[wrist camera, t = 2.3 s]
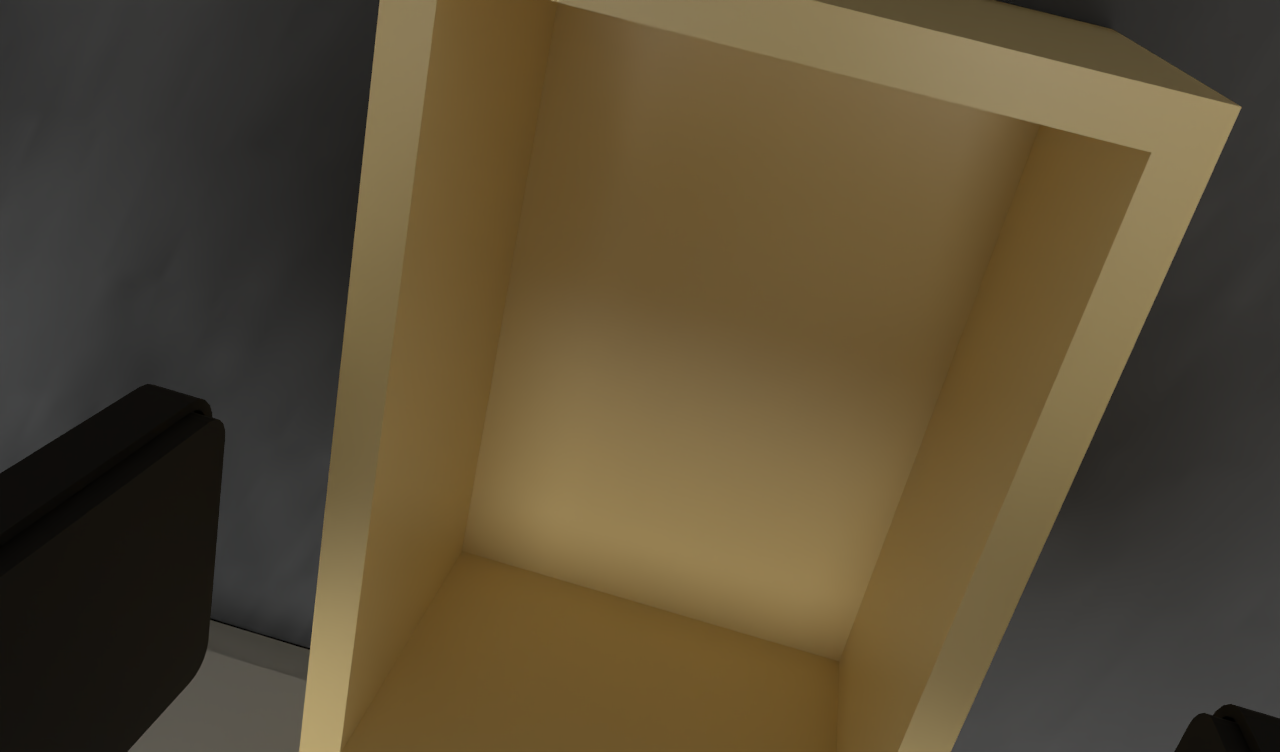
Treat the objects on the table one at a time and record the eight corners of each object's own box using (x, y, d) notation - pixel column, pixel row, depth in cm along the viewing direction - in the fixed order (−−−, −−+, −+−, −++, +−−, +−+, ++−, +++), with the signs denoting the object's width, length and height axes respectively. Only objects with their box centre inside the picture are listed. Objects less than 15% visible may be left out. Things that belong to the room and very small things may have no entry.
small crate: (546, -110, 14) (391, -105, 9) (1113, 29, 13) (1240, 107, 9) (438, 550, 18) (297, 773, 14) (862, 675, 18) (860, 949, 13)
